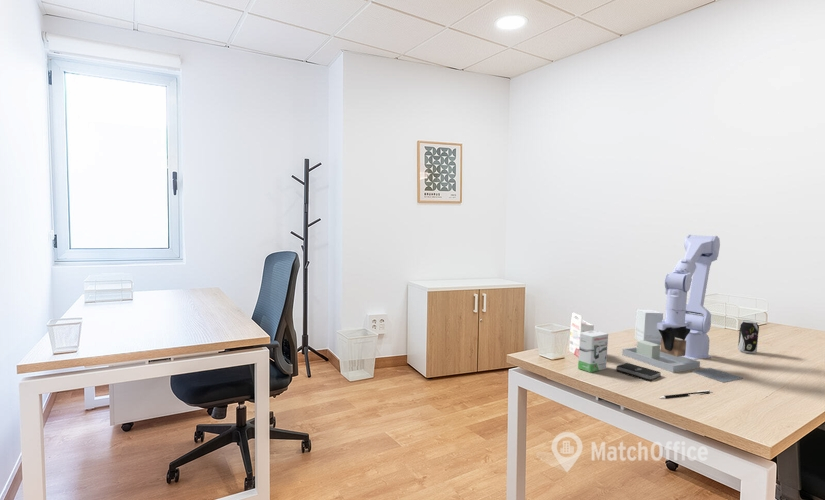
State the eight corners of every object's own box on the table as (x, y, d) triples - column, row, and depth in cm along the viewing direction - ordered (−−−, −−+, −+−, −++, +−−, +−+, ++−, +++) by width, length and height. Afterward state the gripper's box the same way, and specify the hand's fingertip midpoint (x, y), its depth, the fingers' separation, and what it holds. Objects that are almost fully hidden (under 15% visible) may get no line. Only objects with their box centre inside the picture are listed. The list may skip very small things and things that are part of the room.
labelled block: (668, 350, 151) (669, 335, 151) (685, 355, 146) (686, 340, 145) (660, 351, 149) (661, 336, 149) (677, 356, 144) (678, 341, 144)
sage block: (644, 354, 159) (645, 340, 159) (659, 359, 154) (660, 345, 154) (636, 355, 158) (637, 341, 157) (651, 360, 152) (652, 346, 152)
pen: (713, 394, 125) (714, 390, 125) (660, 400, 120) (660, 396, 119) (710, 393, 126) (711, 389, 126) (657, 399, 120) (657, 394, 120)
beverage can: (740, 353, 166) (743, 321, 165) (735, 349, 171) (738, 318, 170) (759, 355, 164) (761, 323, 163) (753, 351, 169) (756, 320, 168)
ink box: (590, 373, 139) (592, 336, 138) (577, 368, 143) (579, 332, 142) (606, 368, 143) (609, 333, 143) (593, 364, 148) (595, 329, 147)
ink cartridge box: (592, 358, 154) (595, 316, 153) (579, 358, 154) (581, 316, 153) (581, 350, 163) (583, 311, 162) (568, 350, 162) (570, 311, 161)
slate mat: (710, 369, 146) (710, 367, 146) (743, 379, 137) (743, 378, 137) (690, 372, 142) (690, 371, 142) (723, 383, 133) (723, 382, 133)
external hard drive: (650, 383, 133) (650, 376, 132) (614, 372, 141) (615, 366, 141) (661, 378, 137) (661, 372, 137) (625, 368, 146) (626, 362, 145)
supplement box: (661, 344, 175) (664, 313, 174) (642, 344, 175) (645, 312, 174) (651, 339, 182) (654, 309, 181) (633, 339, 182) (635, 308, 181)
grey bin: (647, 352, 163) (648, 345, 163) (699, 369, 146) (700, 361, 146) (622, 355, 158) (622, 349, 158) (672, 373, 140) (673, 366, 140)
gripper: (678, 305, 153) (675, 343, 154) (649, 308, 147) (647, 347, 148) (699, 309, 147) (696, 349, 148) (669, 312, 141) (666, 354, 142)
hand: (672, 349), depth 147 cm, fingers closed on labelled block, 4 cm apart
